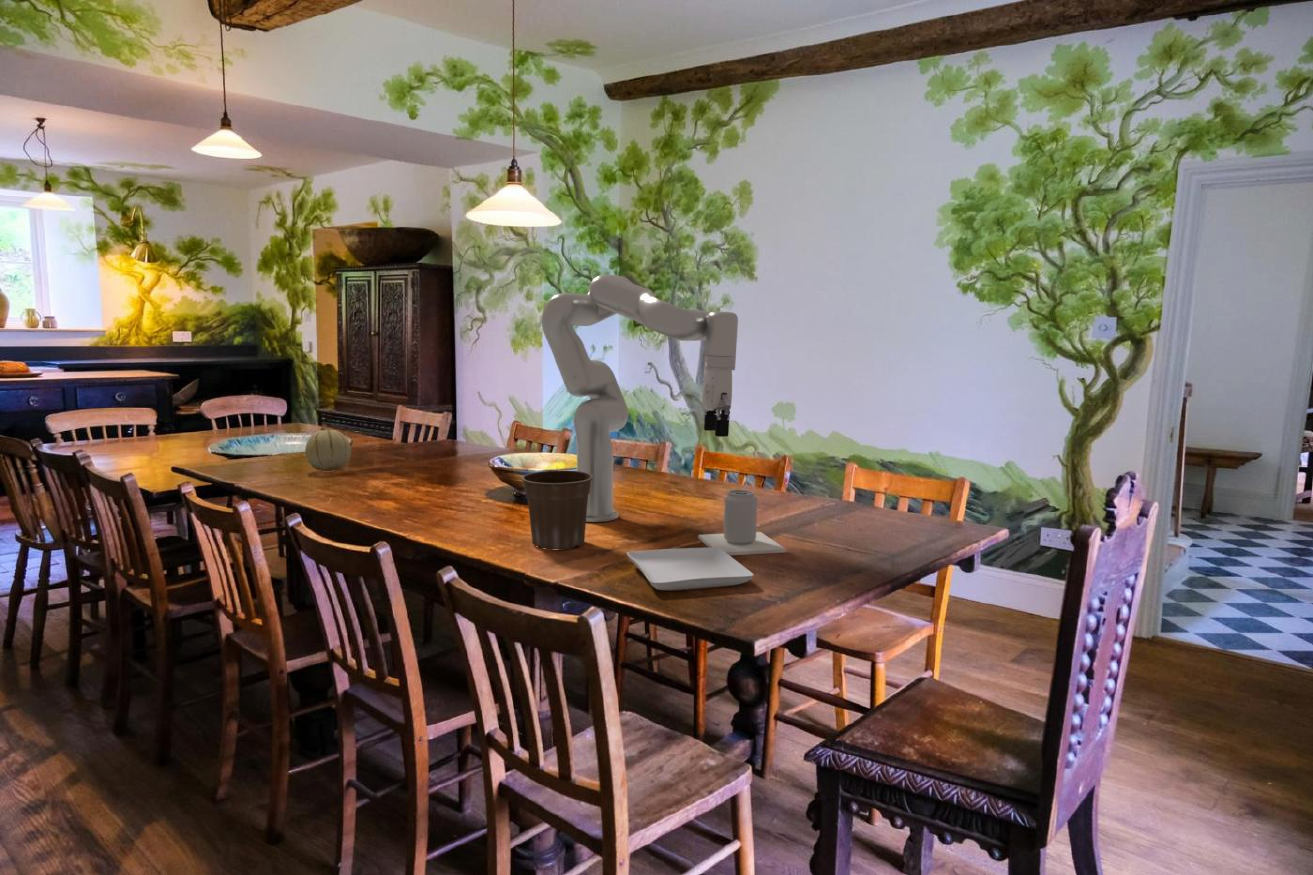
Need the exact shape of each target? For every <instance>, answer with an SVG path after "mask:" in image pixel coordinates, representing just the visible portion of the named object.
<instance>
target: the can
mask: <svg viewBox="0 0 1313 875" xmlns="http://www.w3.org/2000/svg"><path fill="white" fill-rule="evenodd" d="M727 493H728V495H727V496H725V497H724V514H723V515H724V520H723V525H724V527H723V534H724V538H725V539H726V540H727V542H729V543H731V544H737V545H746V544H751V543H752V542H753V541H754V540H755V539H756V532H757V520H758V519H757V516H758V515H757V513H758V512H757V511H758V507H757V506H758V498H757V497H756V496H755V492H754V491H752V490H748V489H731V490H729V491H727Z"/></svg>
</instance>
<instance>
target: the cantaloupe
mask: <svg viewBox="0 0 1313 875" xmlns="http://www.w3.org/2000/svg"><path fill="white" fill-rule="evenodd" d="M304 452H305V458H306V460H307V461H308V464H309V465H311V467H312V468H314V469H315V470H317V471H319V470H321V471H320V472H323V471H332V470H337V471H339V470H342V468H344V467H345V466H346V465H347V464H348V463H349V461H350V458H351V455H352V447H351V443H350V441H349V440H348V437H346V435H344V434H343V433H342V432H340V431H338V430H335V429H327V428H326V427H321V428H320V430H319V431H316V432H315V433H313V434H312V435H311V436H310V437H309V439H308V440H307V442H306V444H305V451H304Z"/></svg>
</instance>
